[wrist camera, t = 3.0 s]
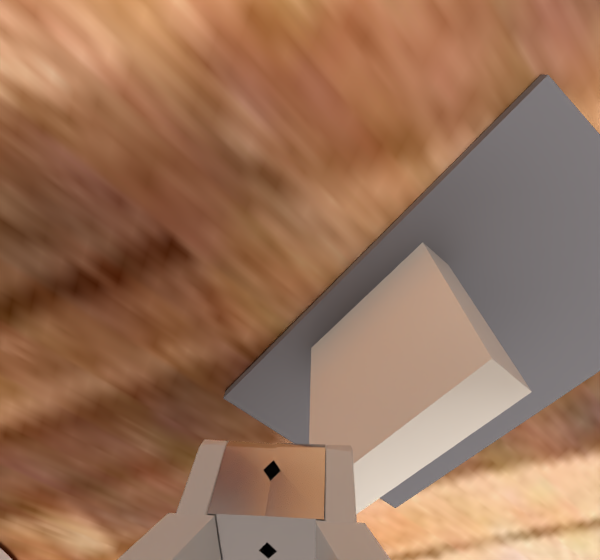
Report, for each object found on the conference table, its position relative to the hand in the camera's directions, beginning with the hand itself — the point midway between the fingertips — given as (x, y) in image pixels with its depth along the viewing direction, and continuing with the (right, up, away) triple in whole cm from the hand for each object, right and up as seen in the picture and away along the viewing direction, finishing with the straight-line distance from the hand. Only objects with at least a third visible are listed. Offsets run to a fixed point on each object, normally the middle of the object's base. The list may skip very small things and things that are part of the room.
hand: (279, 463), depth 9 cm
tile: (+4, +2, +13) cm, 14 cm away
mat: (+8, +1, +14) cm, 17 cm away
